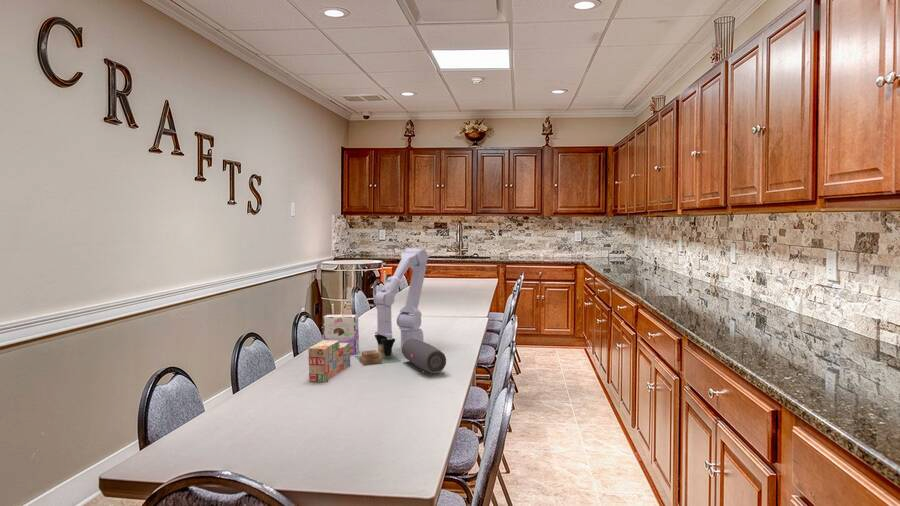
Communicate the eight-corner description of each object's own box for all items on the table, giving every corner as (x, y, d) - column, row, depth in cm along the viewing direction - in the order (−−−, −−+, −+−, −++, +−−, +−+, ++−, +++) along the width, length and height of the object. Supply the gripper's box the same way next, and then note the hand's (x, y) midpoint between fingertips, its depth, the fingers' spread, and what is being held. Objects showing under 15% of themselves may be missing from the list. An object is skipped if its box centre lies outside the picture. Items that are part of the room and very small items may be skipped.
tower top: (375, 354, 219) (375, 350, 219) (379, 358, 214) (379, 353, 214) (361, 356, 217) (361, 351, 217) (365, 359, 212) (365, 354, 212)
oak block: (388, 354, 228) (388, 343, 228) (391, 356, 224) (391, 345, 224) (378, 355, 226) (378, 344, 226) (381, 357, 222) (381, 346, 222)
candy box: (359, 352, 233) (358, 314, 232) (355, 355, 228) (355, 316, 227) (328, 351, 235) (327, 313, 234) (323, 355, 229) (322, 316, 228)
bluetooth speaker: (400, 363, 215) (399, 338, 215) (421, 360, 220) (421, 335, 219) (424, 378, 195) (424, 350, 195) (447, 374, 200) (447, 347, 199)
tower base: (376, 359, 220) (376, 354, 220) (381, 363, 214) (381, 358, 214) (359, 361, 217) (359, 356, 217) (364, 365, 211) (364, 360, 211)
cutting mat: (389, 353, 231) (389, 352, 231) (401, 362, 217) (401, 361, 217) (354, 357, 225) (354, 356, 225) (364, 366, 211) (364, 365, 211)
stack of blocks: (335, 365, 213) (335, 334, 212) (350, 366, 212) (350, 335, 211) (308, 381, 192) (308, 347, 192) (325, 383, 191) (324, 348, 190)
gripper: (370, 318, 229) (370, 350, 230) (380, 324, 216) (380, 358, 217) (386, 317, 232) (386, 348, 233) (397, 323, 219) (397, 356, 220)
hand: (384, 353), depth 225 cm, fingers open, 7 cm apart
